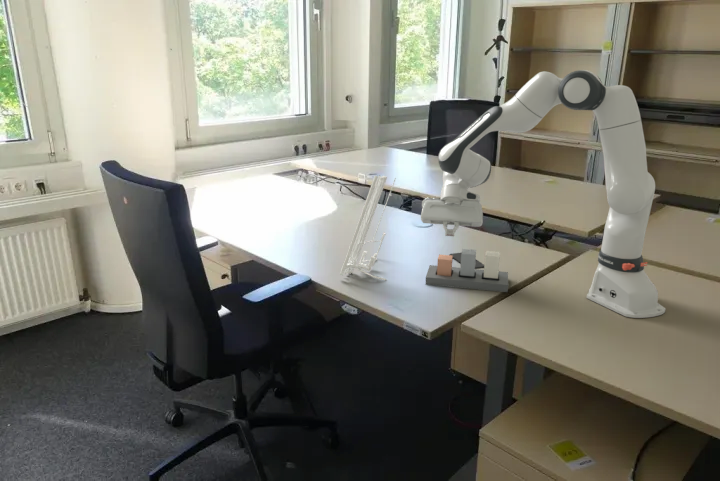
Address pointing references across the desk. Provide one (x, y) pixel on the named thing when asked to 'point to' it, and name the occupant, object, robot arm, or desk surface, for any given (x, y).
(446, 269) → the key terracotta
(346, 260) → the white display easel
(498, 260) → the key ivory
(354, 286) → the desk surface
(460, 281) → the keypad base
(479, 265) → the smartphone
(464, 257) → the key slate
